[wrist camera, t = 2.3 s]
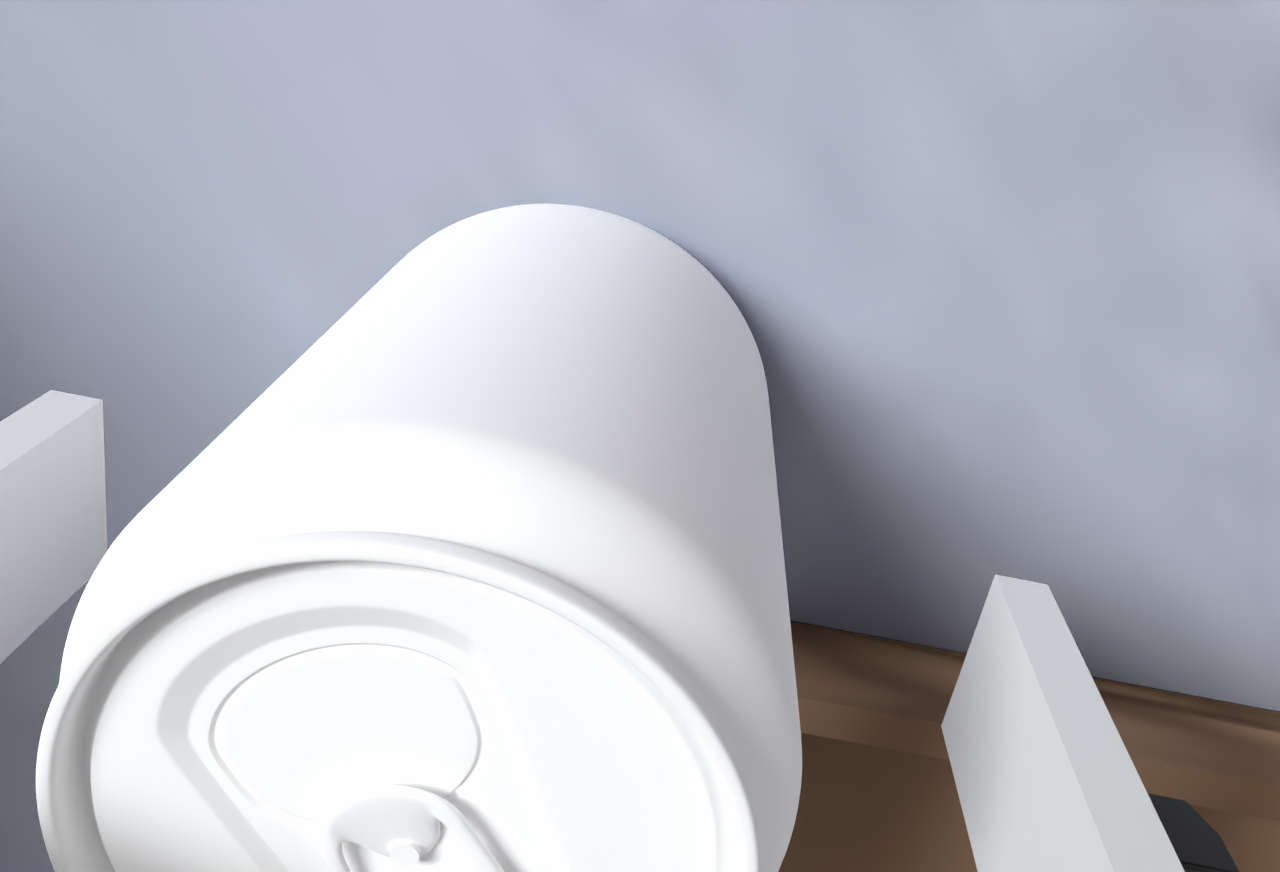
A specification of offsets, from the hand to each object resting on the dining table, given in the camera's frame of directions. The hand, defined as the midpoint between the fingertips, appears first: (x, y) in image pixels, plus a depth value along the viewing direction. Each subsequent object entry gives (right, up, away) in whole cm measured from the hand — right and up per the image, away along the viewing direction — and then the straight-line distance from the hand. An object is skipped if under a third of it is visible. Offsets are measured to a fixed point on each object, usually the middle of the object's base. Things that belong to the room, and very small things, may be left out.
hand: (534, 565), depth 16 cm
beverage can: (0, +3, +6) cm, 6 cm away
